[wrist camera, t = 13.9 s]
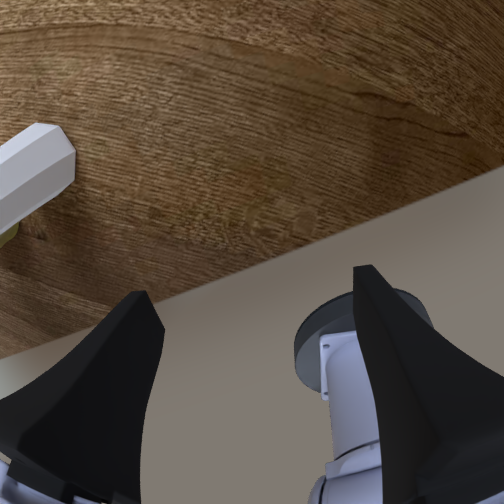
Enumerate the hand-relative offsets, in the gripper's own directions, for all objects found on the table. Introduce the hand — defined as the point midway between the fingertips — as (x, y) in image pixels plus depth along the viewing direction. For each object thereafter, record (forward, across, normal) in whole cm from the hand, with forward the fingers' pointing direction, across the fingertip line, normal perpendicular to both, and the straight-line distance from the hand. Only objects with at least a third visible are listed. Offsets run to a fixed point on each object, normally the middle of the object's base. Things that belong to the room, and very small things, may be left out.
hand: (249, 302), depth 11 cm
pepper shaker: (+10, +13, -5) cm, 17 cm away
